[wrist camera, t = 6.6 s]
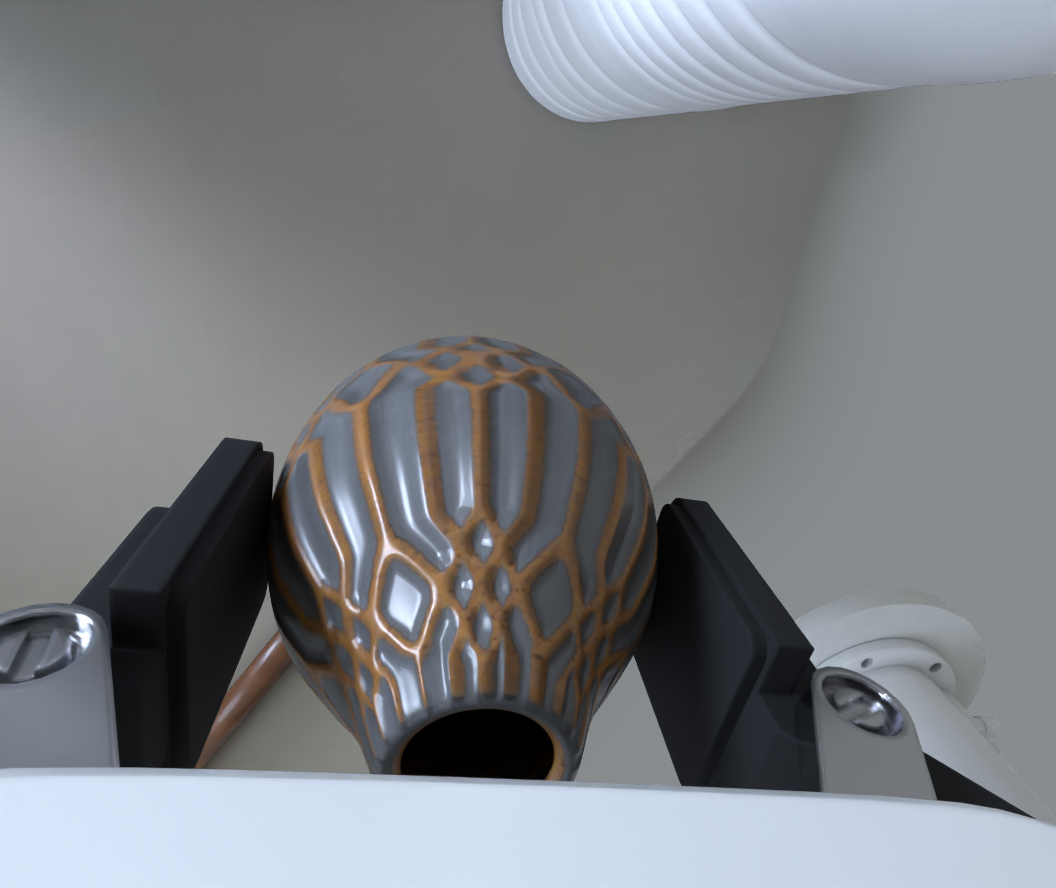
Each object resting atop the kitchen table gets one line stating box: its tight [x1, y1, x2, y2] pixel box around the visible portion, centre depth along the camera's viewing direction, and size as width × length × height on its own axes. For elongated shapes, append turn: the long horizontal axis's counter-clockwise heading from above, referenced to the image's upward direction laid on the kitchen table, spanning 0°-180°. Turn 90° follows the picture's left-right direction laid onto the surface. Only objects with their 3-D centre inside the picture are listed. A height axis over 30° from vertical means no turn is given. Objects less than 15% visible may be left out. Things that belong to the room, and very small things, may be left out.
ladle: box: [194, 630, 293, 769], centre depth 32 cm, size 24×7×3 cm, turn 140°
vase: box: [266, 336, 658, 782], centre depth 11 cm, size 7×7×9 cm
